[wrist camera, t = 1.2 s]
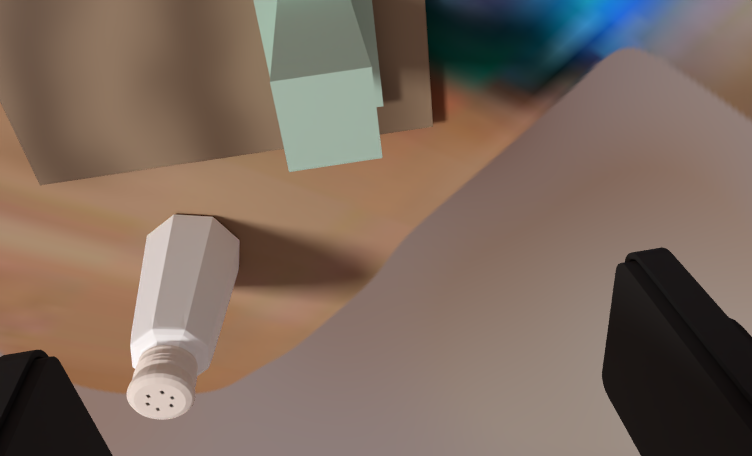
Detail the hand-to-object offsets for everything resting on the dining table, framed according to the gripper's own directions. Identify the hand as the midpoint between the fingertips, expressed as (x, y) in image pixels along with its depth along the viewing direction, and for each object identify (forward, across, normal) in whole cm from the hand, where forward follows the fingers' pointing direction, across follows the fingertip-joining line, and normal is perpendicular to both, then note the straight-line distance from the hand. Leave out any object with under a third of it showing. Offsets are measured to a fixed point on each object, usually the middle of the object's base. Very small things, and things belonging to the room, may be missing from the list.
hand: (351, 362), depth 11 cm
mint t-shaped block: (+21, 0, 0) cm, 21 cm away
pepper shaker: (+23, +9, +12) cm, 27 cm away
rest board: (+22, +5, 0) cm, 23 cm away
